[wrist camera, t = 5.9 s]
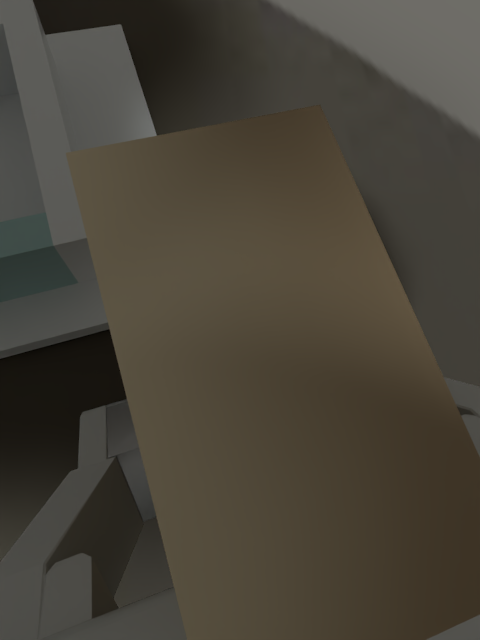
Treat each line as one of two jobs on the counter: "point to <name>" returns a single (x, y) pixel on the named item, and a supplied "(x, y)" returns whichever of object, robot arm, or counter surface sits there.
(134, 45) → the counter surface
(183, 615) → the wooden block
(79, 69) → the white square socket base
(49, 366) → the counter surface
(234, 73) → the counter surface
